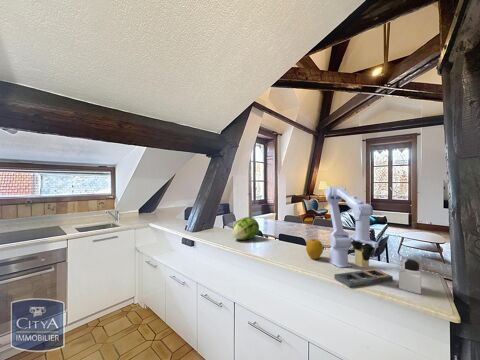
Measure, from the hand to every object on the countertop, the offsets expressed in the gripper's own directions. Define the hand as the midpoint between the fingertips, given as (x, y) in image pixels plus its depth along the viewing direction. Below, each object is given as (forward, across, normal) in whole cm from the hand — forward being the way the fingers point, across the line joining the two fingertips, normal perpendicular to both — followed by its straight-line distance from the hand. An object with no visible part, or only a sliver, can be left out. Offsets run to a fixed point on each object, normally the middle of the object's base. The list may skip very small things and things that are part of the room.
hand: (362, 258), depth 97 cm
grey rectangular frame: (+10, 0, 0) cm, 10 cm away
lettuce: (+10, -82, -32) cm, 89 cm away
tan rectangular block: (+3, 0, 0) cm, 3 cm away
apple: (+10, -30, -4) cm, 32 cm away
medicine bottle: (+10, +12, +13) cm, 20 cm away
